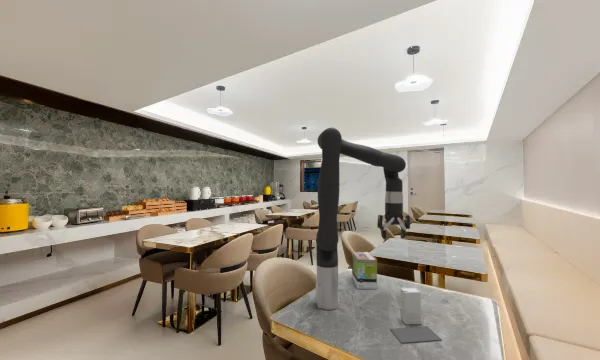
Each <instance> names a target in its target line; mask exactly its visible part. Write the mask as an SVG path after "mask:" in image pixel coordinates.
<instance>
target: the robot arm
mask: <svg viewBox="0 0 600 360" xmlns="http://www.w3.org/2000/svg"><path fill="white" fill-rule="evenodd" d="M317 145H318V148H319V149H321V158H322V159H321V165H320V170H319V174H318V178H317V179H318V180H317V204H318V205H317V206H318V214H319V215H318V229H317V232H316V237H315V238H316V246H315V247H316V248H315V249H316V255H315V256H316V258H315V260H316V280H315V303H316V306H317V308H318V309H321V310H329V311H330V310H336V309H337V308H338V307H339V255H338V254H339V253H338V245H339V244H338V243H339V233H338V232H339V231H338V211H339V202H340V184H341V183H340V156H341V155H343V156H347V157H349V158H352V159H355V160H358V161H361V162H363V163H366V164H368V165H371V166H373V167H378V168H379V167H381V168H383V174H384V179H385V196H384V214H378V215H377V222H376V223H377V226H376V227H377V228H378V229H380V230H381V237H382V238H383V240H384V239H385V240H386V239H387V229H388V228H389V227H390V225H391V226H394V225H395V226H399V228H400V239H402V240H403V239H405V238H406V230H409V229H411V217H410V215H409V214H403V213H404V193H403V186H404V185H403V179H401V178H400V176H399V173H400V172H403V171H404V170H405V168H406V166H407V164H406V163H407V162H406V161H405V159H404V158H403V157H402V156H399V155H396V154H392V153H389V152H388V153H387V152H384V151H381V150H378V149H376V148H373V147H371V146H369V145H368V146H367V145H364V144H358V143H353V142H351V141H347V140H344V139H343V138H342V134H341V132H340V131H339V129H337V128H335V127H328V128H325V129H324V130H323V131H322V132H321V133H320V134H319V135H318V137H317ZM384 219H385V221H384V222H383V220H384ZM403 221H404V222H403Z"/></svg>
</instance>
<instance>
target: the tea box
mask: <svg viewBox="0 0 600 360" xmlns="http://www.w3.org/2000/svg"><path fill="white" fill-rule="evenodd" d="M351 258H352V259H351V268H352V269H351V279H352V281H353V282H354V284H355V286H356V289H358V290H377V288H378V284H377V283H378V259H377V258H376V256H374V255H373V253H371V252H370V251H352V253H351Z"/></svg>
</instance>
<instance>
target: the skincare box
mask: <svg viewBox="0 0 600 360" xmlns="http://www.w3.org/2000/svg"><path fill="white" fill-rule="evenodd" d="M421 303H422V302H421V291H420V290H418V288H416V287H401V288H400V319H401V320H402V322H403V323H404V325H422V305H421Z"/></svg>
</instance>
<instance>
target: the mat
mask: <svg viewBox="0 0 600 360" xmlns="http://www.w3.org/2000/svg"><path fill="white" fill-rule="evenodd" d="M390 332H391V333H392V334H393V335H394V336H395V338H396V339H397V340H398V342H400V344H401V345H403V344H404V345H405V344H417V343H431V342H432V343H433V342H442V341H443V339H442V338H441V337H440V336H439V335H437V334H436V333H435V332H434V331H433V330H432V329H431V328H430V327H429V326H427V325H424V326H423V325H422V326H412V327H411V326H410V327H408V326H407V327H399V328H398V327H395V328H390Z"/></svg>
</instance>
